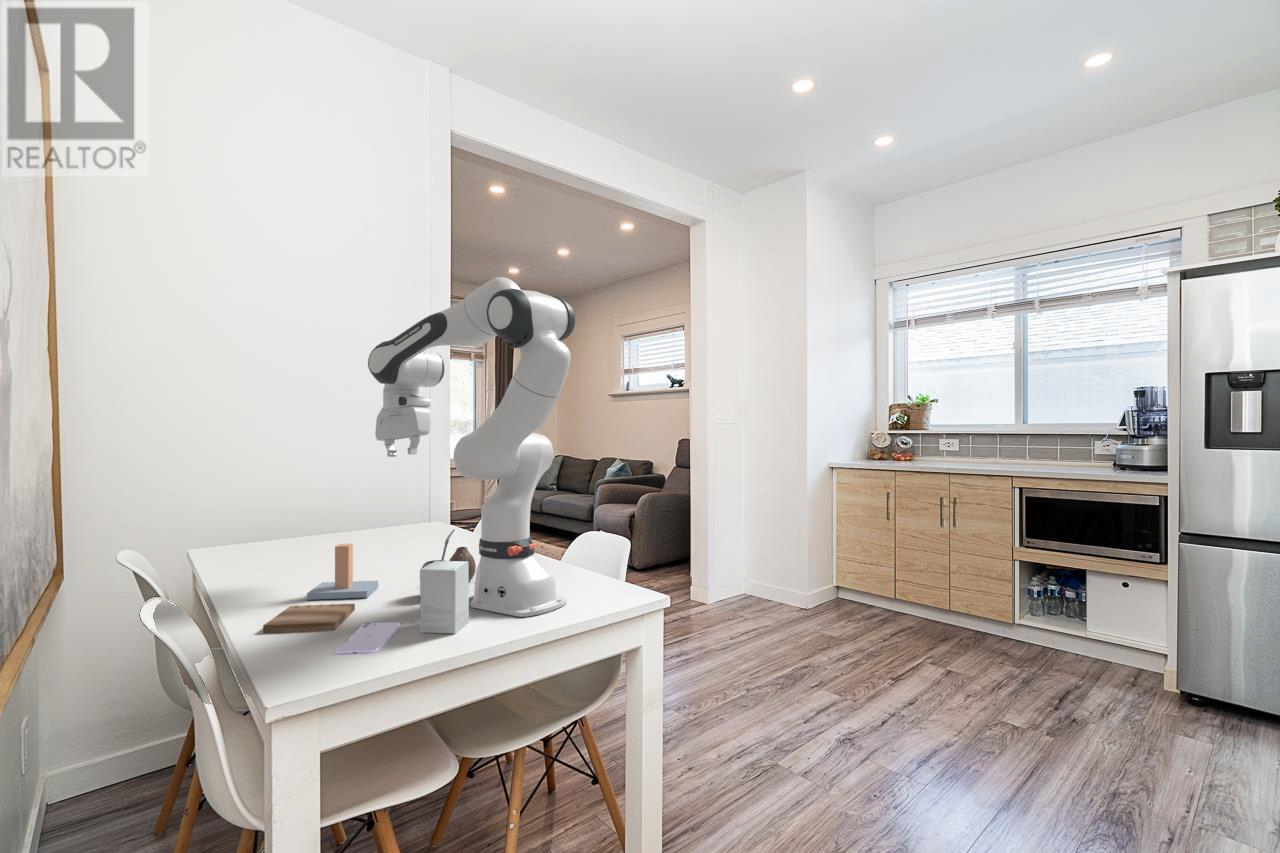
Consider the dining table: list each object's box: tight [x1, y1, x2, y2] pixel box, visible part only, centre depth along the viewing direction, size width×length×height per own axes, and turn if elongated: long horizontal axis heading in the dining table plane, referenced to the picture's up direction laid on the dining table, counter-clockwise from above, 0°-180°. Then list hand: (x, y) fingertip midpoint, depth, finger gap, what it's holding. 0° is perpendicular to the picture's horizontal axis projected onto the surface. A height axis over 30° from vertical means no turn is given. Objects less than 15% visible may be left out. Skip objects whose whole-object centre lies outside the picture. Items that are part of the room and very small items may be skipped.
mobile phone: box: [334, 621, 401, 655], centre depth 111 cm, size 8×1×15 cm
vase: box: [448, 546, 477, 582], centre depth 151 cm, size 7×7×9 cm
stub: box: [306, 543, 379, 601], centre depth 139 cm, size 9×13×12 cm
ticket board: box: [262, 603, 356, 634], centre depth 120 cm, size 12×13×2 cm
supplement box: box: [419, 560, 470, 635], centre depth 117 cm, size 7×7×13 cm
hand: (402, 455), depth 152 cm, fingers open, 8 cm apart
